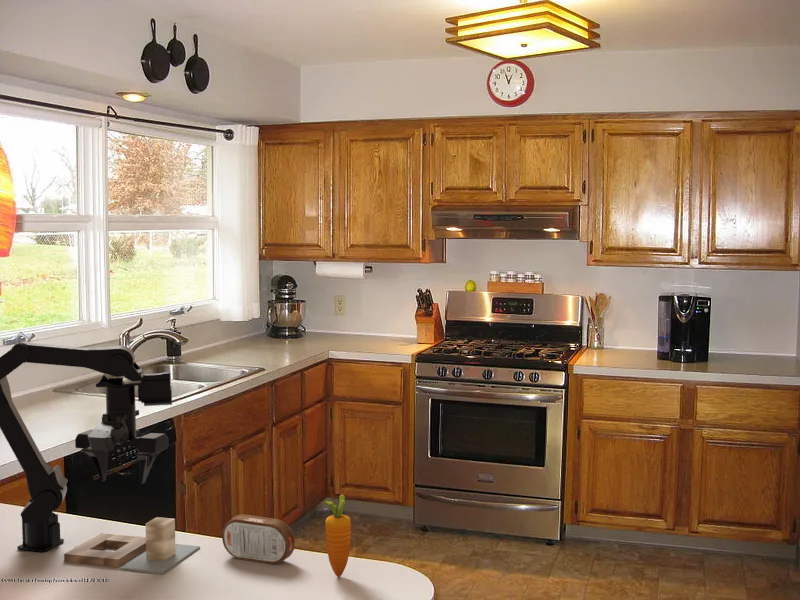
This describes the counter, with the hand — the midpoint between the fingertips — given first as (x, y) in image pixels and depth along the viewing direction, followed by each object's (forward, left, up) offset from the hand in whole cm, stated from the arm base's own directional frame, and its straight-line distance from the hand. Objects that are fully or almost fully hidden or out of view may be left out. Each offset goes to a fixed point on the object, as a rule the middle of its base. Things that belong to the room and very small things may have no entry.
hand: (122, 481), depth 175 cm
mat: (+13, -8, -12) cm, 20 cm away
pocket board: (+2, -8, -12) cm, 15 cm away
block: (+13, -8, -12) cm, 19 cm away
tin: (+32, -4, -12) cm, 35 cm away
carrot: (+50, -8, -12) cm, 52 cm away
